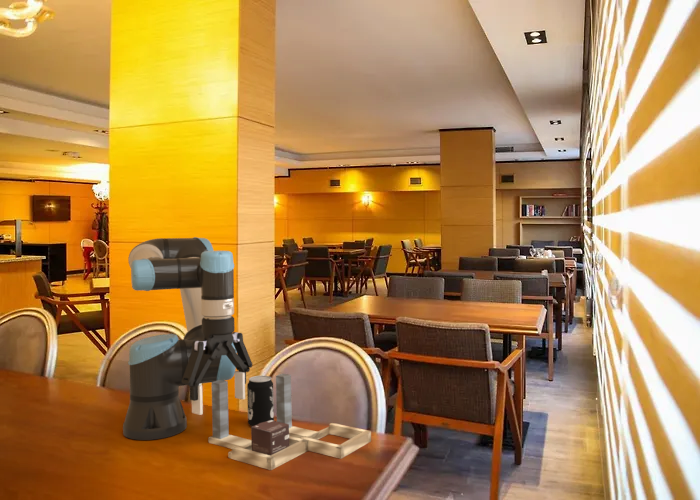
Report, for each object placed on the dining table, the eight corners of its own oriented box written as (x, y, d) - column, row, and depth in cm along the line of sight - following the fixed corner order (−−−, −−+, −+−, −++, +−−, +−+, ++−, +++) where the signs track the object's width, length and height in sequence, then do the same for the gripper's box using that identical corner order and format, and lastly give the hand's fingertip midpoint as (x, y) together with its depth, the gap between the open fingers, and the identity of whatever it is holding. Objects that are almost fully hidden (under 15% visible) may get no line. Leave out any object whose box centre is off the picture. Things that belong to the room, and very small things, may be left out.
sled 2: (261, 438, 138) (260, 379, 137) (294, 424, 148) (293, 369, 148) (341, 458, 125) (340, 393, 125) (371, 441, 135) (370, 381, 135)
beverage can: (268, 429, 144) (268, 382, 144) (244, 428, 145) (243, 381, 145) (277, 421, 151) (276, 375, 150) (253, 419, 152) (252, 374, 152)
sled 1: (194, 448, 132) (193, 386, 132) (233, 432, 143) (232, 375, 142) (271, 470, 119) (269, 402, 119) (307, 450, 130) (306, 388, 129)
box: (270, 466, 122) (270, 432, 121) (250, 460, 125) (250, 426, 125) (290, 457, 126) (289, 424, 126) (270, 451, 130) (270, 419, 130)
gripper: (186, 325, 123) (188, 423, 124) (265, 310, 144) (267, 394, 145) (164, 322, 127) (166, 417, 128) (243, 308, 148) (245, 390, 149)
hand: (219, 405), depth 136 cm, fingers open, 13 cm apart
